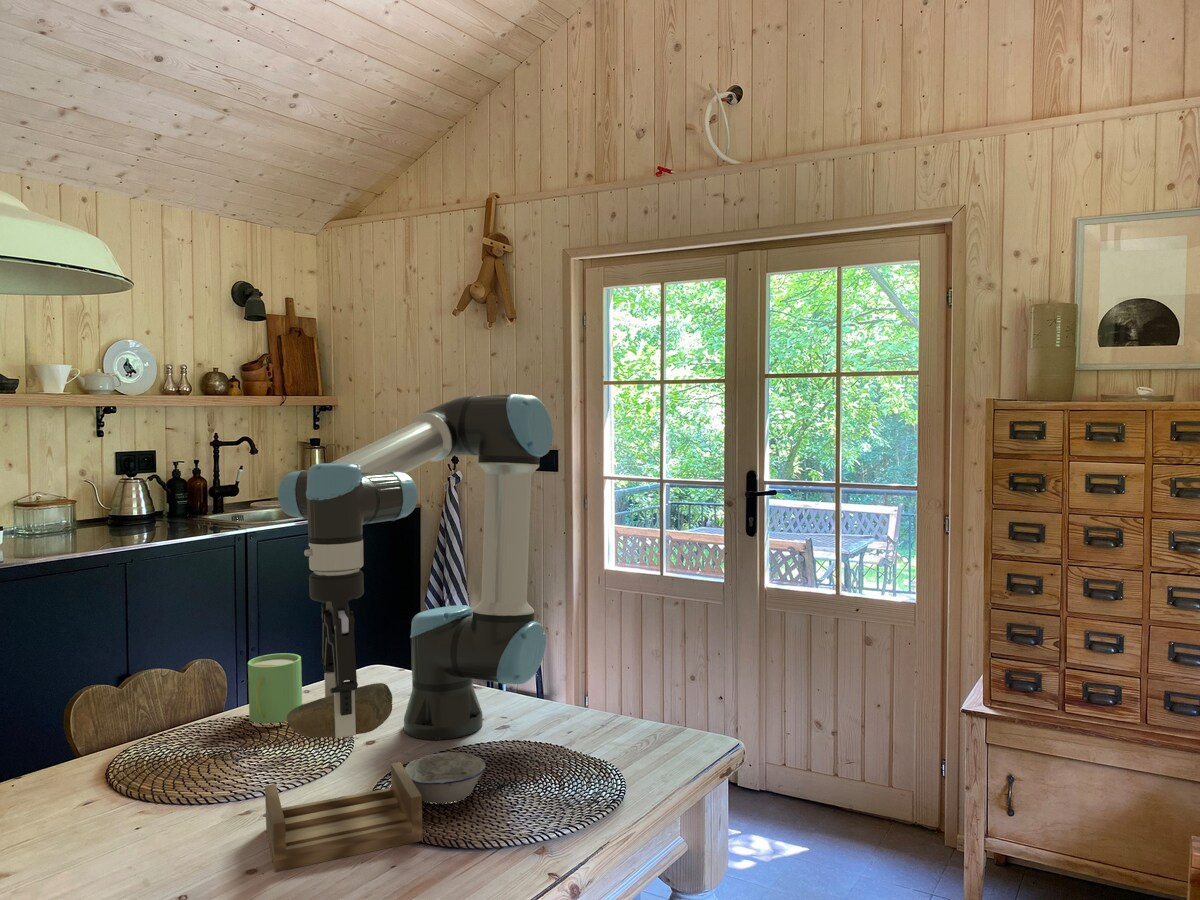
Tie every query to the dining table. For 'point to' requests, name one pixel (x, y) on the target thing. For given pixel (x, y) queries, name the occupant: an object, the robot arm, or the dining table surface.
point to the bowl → (445, 775)
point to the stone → (320, 714)
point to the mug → (274, 687)
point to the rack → (344, 823)
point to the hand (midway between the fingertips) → (340, 725)
